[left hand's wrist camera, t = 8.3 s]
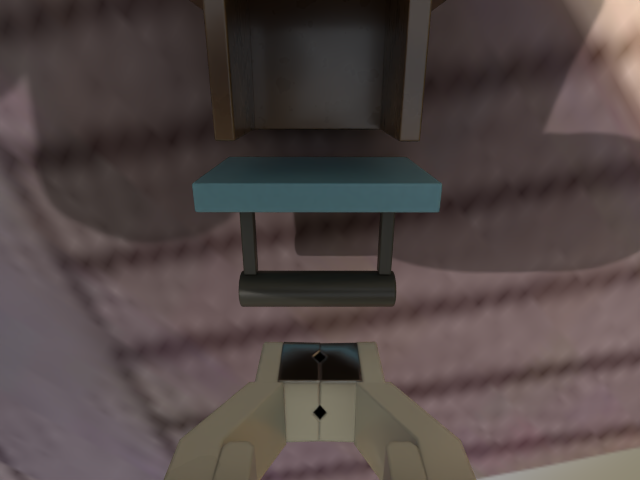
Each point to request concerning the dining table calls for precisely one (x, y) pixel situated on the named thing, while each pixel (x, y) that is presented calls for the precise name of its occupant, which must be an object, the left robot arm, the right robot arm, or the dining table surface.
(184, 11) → the dining table surface
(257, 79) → the drawer
